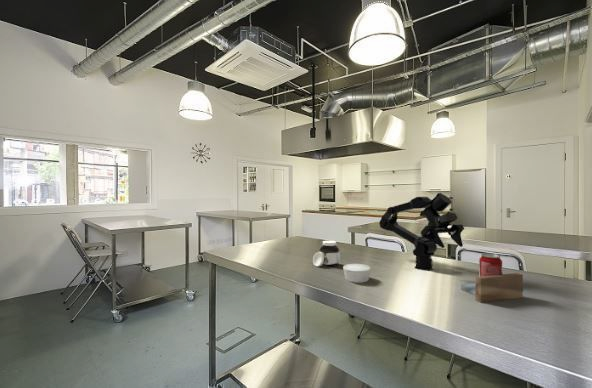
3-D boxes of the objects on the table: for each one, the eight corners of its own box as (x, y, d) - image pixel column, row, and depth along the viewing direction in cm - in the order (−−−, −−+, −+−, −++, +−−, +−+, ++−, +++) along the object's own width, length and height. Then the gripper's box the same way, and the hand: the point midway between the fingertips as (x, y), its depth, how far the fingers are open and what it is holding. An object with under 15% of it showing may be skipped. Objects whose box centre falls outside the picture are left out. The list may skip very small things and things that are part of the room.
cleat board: (453, 290, 102) (453, 268, 102) (491, 286, 106) (492, 265, 106) (480, 302, 91) (480, 278, 91) (522, 297, 95) (522, 274, 95)
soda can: (501, 293, 94) (501, 258, 94) (478, 288, 98) (478, 255, 98) (502, 287, 99) (502, 254, 99) (480, 283, 103) (480, 252, 103)
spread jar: (341, 264, 137) (341, 241, 137) (332, 270, 128) (332, 245, 128) (320, 261, 144) (320, 239, 144) (310, 266, 134) (310, 242, 134)
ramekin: (338, 279, 114) (338, 267, 114) (352, 273, 122) (352, 262, 122) (362, 286, 107) (362, 272, 107) (375, 279, 115) (375, 266, 115)
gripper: (425, 206, 117) (444, 236, 107) (461, 206, 122) (483, 234, 111) (413, 222, 125) (430, 252, 115) (447, 221, 130) (466, 249, 119)
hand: (452, 246), depth 115 cm, fingers open, 9 cm apart
